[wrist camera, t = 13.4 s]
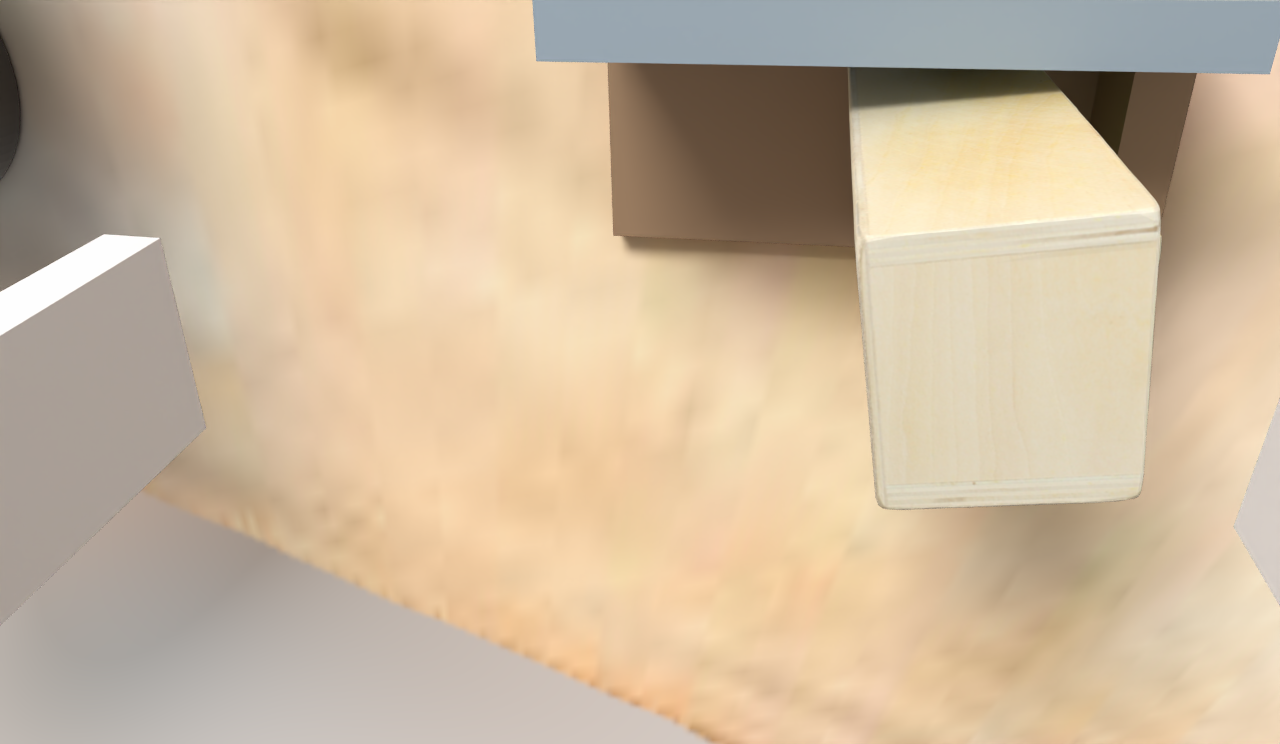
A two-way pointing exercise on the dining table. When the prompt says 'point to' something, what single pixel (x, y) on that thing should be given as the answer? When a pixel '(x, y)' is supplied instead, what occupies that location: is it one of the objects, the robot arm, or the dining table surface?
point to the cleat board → (819, 99)
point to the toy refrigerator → (998, 291)
